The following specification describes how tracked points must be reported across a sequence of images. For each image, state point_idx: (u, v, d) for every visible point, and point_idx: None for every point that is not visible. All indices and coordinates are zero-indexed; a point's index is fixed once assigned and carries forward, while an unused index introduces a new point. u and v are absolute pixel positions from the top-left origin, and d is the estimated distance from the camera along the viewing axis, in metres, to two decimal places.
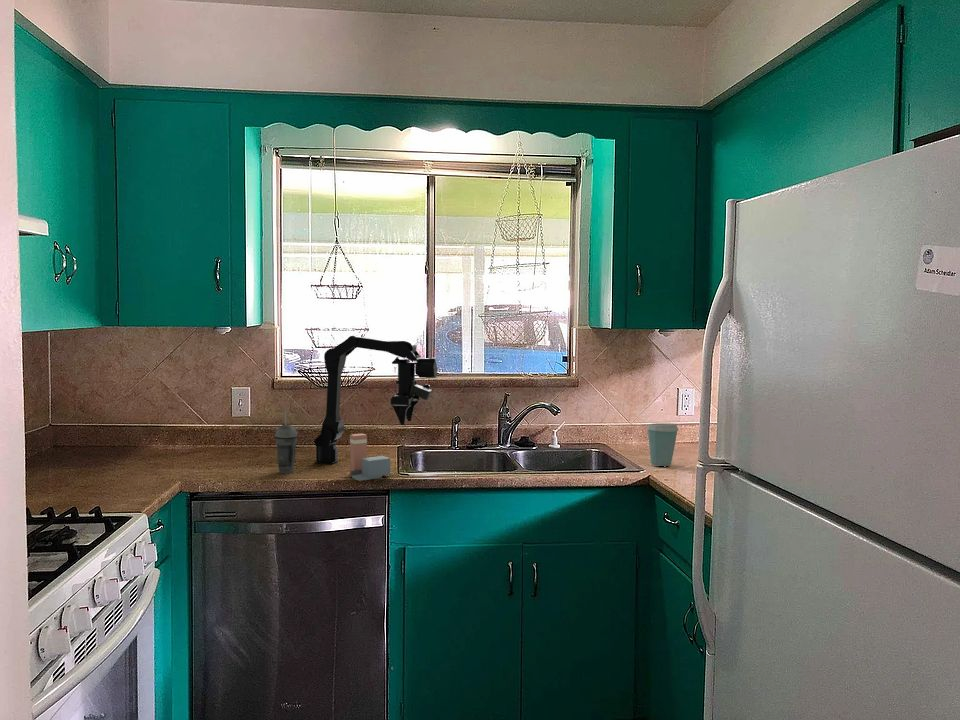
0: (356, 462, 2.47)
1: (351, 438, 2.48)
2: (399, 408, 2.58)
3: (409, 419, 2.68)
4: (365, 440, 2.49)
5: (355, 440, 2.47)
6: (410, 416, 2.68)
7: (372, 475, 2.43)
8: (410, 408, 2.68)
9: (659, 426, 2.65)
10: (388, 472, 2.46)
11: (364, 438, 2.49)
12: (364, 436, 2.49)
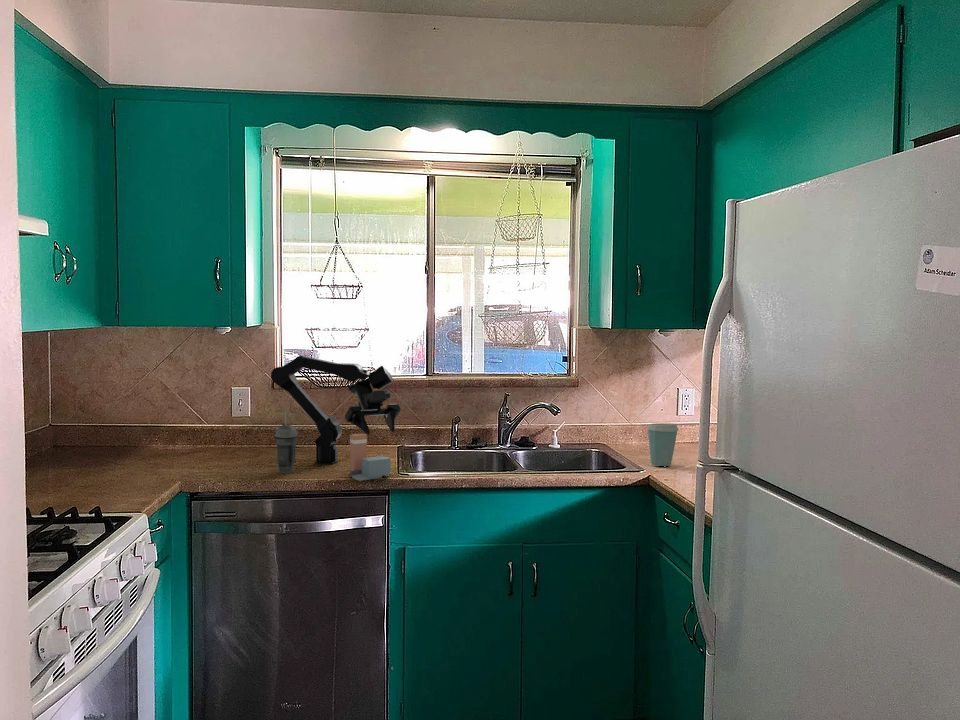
0: (356, 462, 2.47)
1: (351, 438, 2.48)
2: (359, 421, 2.57)
3: (392, 430, 2.60)
4: (365, 440, 2.49)
5: (355, 440, 2.47)
6: (391, 427, 2.60)
7: (372, 475, 2.43)
8: (390, 420, 2.62)
9: (659, 426, 2.65)
10: (388, 472, 2.46)
11: (364, 438, 2.49)
12: (364, 436, 2.49)
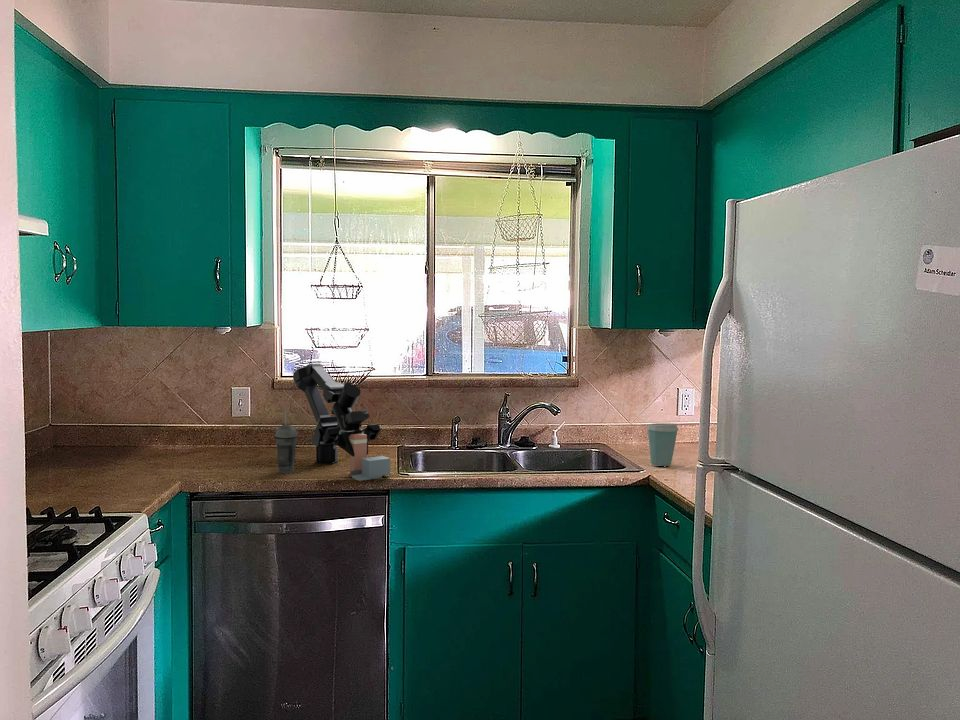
0: (356, 462, 2.47)
1: (351, 438, 2.48)
2: (343, 443, 2.50)
3: None
4: (365, 440, 2.49)
5: (356, 440, 2.47)
6: None
7: (372, 475, 2.43)
8: None
9: (659, 426, 2.65)
10: (388, 472, 2.46)
11: (364, 438, 2.49)
12: (364, 436, 2.49)
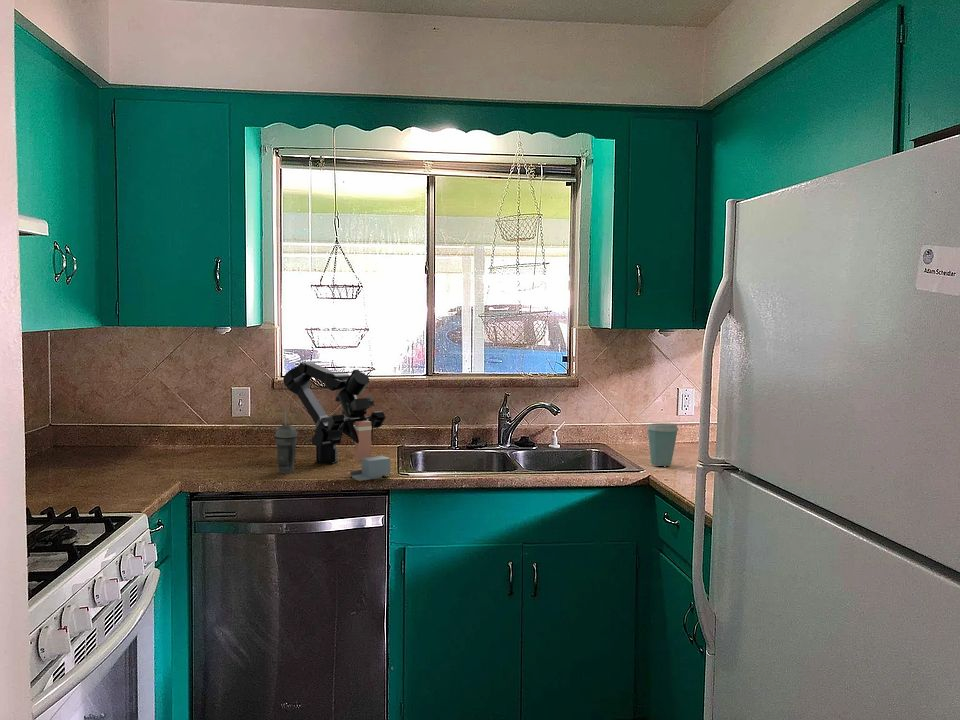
0: (360, 449, 2.49)
1: (356, 425, 2.50)
2: (348, 430, 2.51)
3: None
4: (369, 427, 2.50)
5: (360, 426, 2.49)
6: None
7: (372, 475, 2.43)
8: None
9: (659, 426, 2.65)
10: (388, 472, 2.46)
11: (368, 425, 2.50)
12: (369, 423, 2.50)
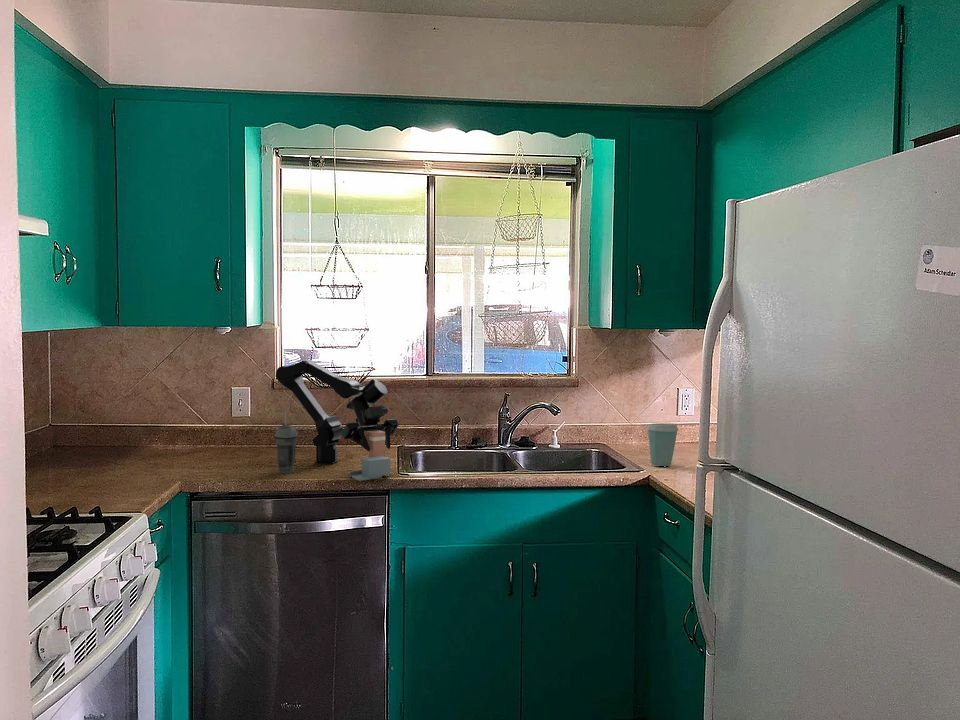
0: None
1: (370, 435, 2.54)
2: (359, 438, 2.54)
3: (388, 446, 2.56)
4: (383, 437, 2.54)
5: (374, 437, 2.52)
6: (387, 443, 2.56)
7: (372, 475, 2.43)
8: (385, 436, 2.58)
9: (659, 426, 2.65)
10: (388, 472, 2.46)
11: (382, 435, 2.54)
12: (382, 433, 2.54)
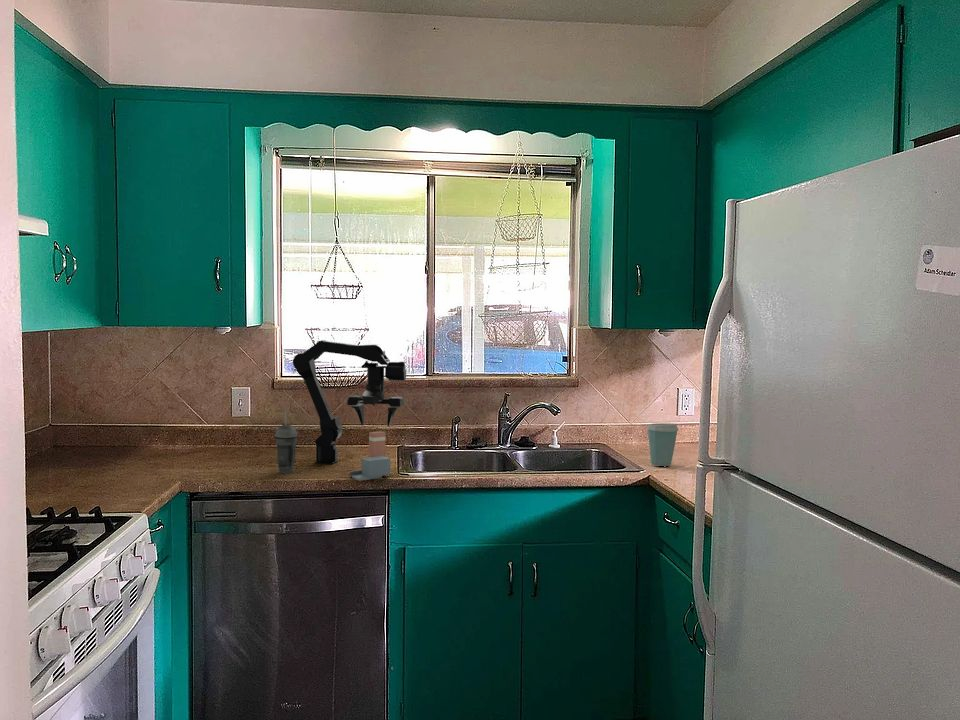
0: None
1: (370, 436, 2.53)
2: None
3: None
4: (383, 437, 2.54)
5: (375, 437, 2.52)
6: None
7: (372, 475, 2.43)
8: None
9: (659, 426, 2.65)
10: (388, 472, 2.46)
11: (382, 435, 2.54)
12: (383, 434, 2.54)
